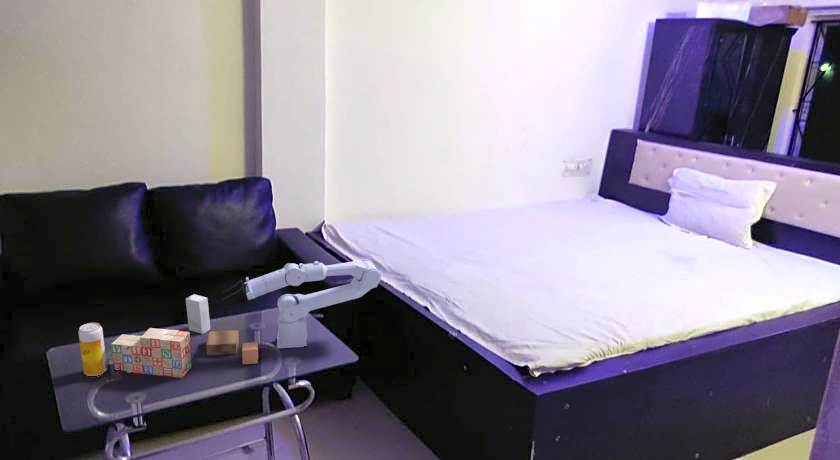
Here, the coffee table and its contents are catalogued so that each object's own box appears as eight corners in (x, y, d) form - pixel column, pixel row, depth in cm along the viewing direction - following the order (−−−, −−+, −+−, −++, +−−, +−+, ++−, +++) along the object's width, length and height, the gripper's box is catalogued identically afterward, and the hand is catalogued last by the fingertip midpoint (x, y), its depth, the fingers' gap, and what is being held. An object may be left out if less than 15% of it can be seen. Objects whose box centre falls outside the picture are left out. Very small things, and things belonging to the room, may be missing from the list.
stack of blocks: (113, 371, 182) (109, 334, 178) (125, 360, 188) (121, 324, 184) (183, 378, 180) (180, 341, 176) (192, 367, 186) (189, 331, 182)
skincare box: (211, 329, 209) (209, 297, 205) (201, 335, 205) (199, 302, 201) (197, 325, 211) (194, 293, 207) (187, 330, 207) (185, 298, 203)
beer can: (85, 368, 182) (79, 323, 177) (108, 365, 184) (102, 321, 179) (82, 379, 177) (76, 333, 172) (106, 376, 179) (100, 330, 174)
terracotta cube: (258, 356, 194) (257, 342, 192) (257, 363, 190) (257, 349, 188) (243, 357, 193) (242, 342, 191) (242, 364, 189) (242, 350, 187)
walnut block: (238, 341, 203) (238, 330, 202) (236, 354, 195) (236, 343, 193) (210, 342, 201) (209, 331, 200) (206, 356, 193) (206, 344, 192)
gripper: (259, 267, 200) (218, 282, 196) (263, 277, 186) (218, 293, 183) (267, 287, 201) (226, 301, 198) (270, 298, 188) (227, 314, 185)
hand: (223, 299), depth 191 cm, fingers open, 7 cm apart
